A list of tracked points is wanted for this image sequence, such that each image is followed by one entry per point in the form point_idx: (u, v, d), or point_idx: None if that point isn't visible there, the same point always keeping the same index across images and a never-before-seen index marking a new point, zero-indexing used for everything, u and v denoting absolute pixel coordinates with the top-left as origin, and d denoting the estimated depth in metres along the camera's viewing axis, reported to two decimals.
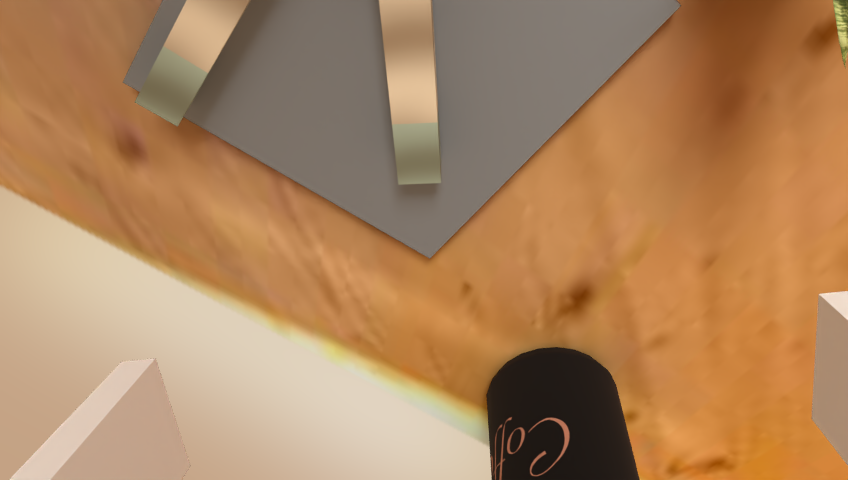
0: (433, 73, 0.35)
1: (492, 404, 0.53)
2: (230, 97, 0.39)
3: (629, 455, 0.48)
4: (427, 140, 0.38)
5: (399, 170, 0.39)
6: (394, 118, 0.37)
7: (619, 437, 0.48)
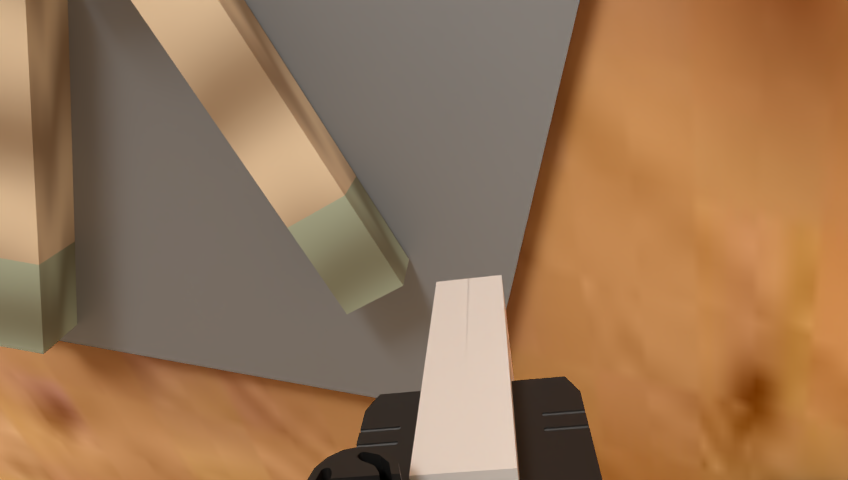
0: (297, 126, 0.23)
1: None
2: (114, 292, 0.29)
3: None
4: (347, 229, 0.24)
5: (336, 292, 0.25)
6: (285, 217, 0.24)
7: None
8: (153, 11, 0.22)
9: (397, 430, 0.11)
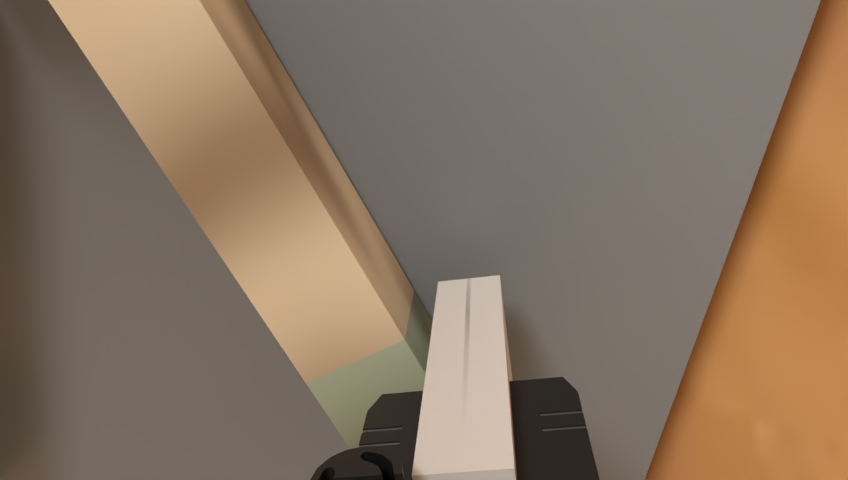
0: (332, 227, 0.14)
1: None
2: (52, 437, 0.19)
3: None
4: (404, 390, 0.15)
5: None
6: (303, 367, 0.15)
7: None
8: (89, 24, 0.12)
9: (399, 430, 0.11)
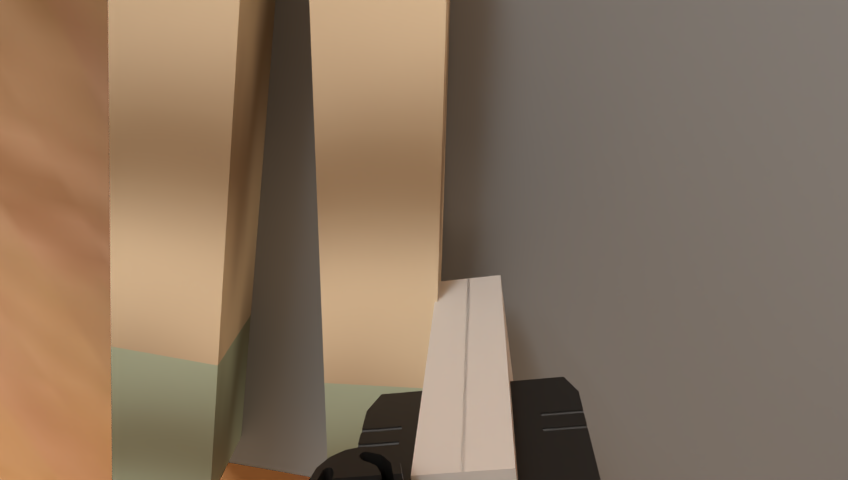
0: (434, 271, 0.14)
1: None
2: (304, 391, 0.19)
3: None
4: None
5: None
6: (331, 369, 0.15)
7: None
8: None
9: (398, 430, 0.11)
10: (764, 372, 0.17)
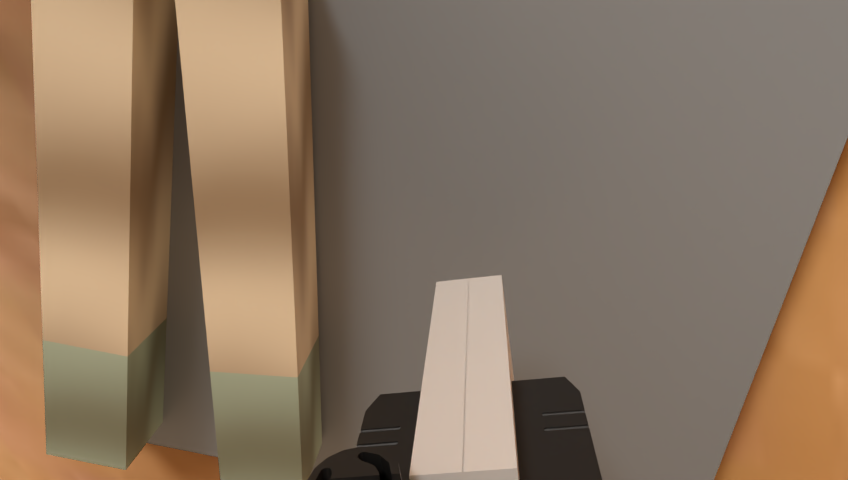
0: (290, 281, 0.18)
1: None
2: None
3: None
4: (277, 410, 0.19)
5: (223, 461, 0.20)
6: (214, 360, 0.19)
7: None
8: (198, 65, 0.16)
9: (397, 430, 0.11)
10: (591, 371, 0.21)
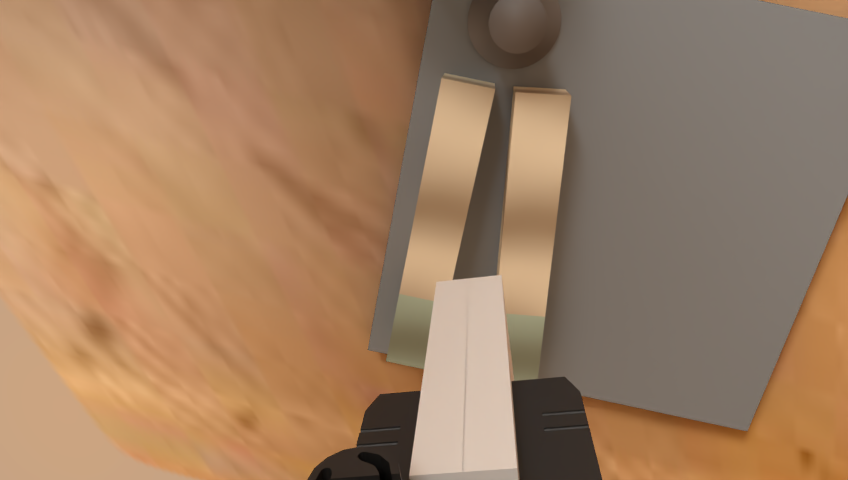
0: (550, 263, 0.33)
1: None
2: None
3: None
4: (530, 335, 0.34)
5: None
6: None
7: None
8: (519, 150, 0.31)
9: (397, 430, 0.11)
10: (698, 320, 0.36)
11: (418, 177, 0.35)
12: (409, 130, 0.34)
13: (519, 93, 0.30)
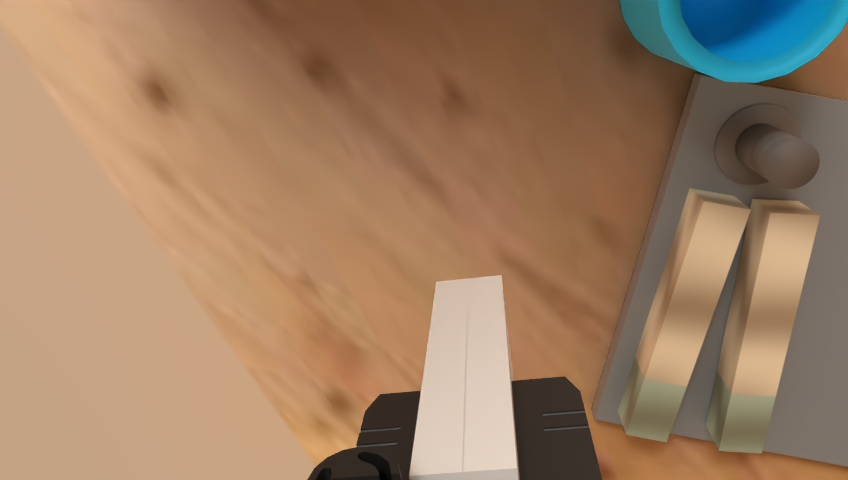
0: (785, 352, 0.38)
1: None
2: (691, 397, 0.42)
3: None
4: (761, 412, 0.39)
5: (724, 437, 0.40)
6: (735, 388, 0.39)
7: None
8: (768, 260, 0.36)
9: (397, 430, 0.11)
10: None
11: (656, 274, 0.39)
12: (652, 235, 0.39)
13: (773, 213, 0.35)
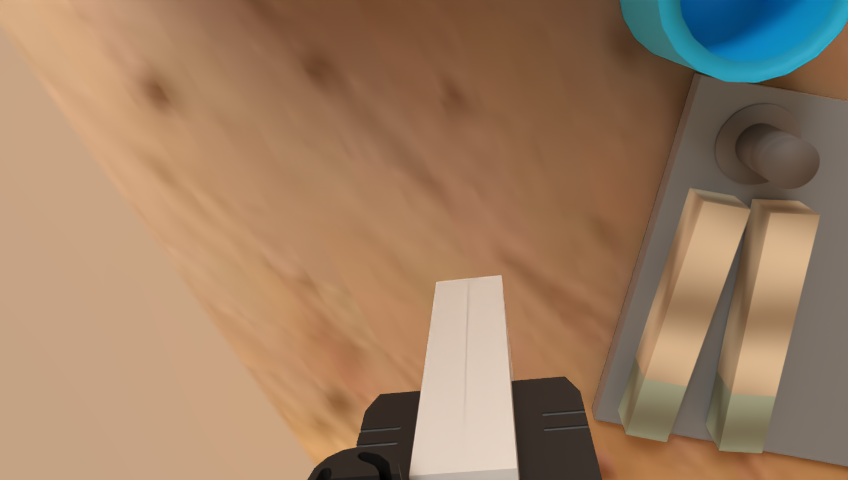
0: (785, 352, 0.38)
1: None
2: (691, 397, 0.42)
3: None
4: (761, 412, 0.39)
5: (724, 437, 0.40)
6: (735, 388, 0.39)
7: None
8: (768, 260, 0.36)
9: (397, 430, 0.11)
10: None
11: (656, 274, 0.39)
12: (652, 235, 0.39)
13: (773, 213, 0.35)
